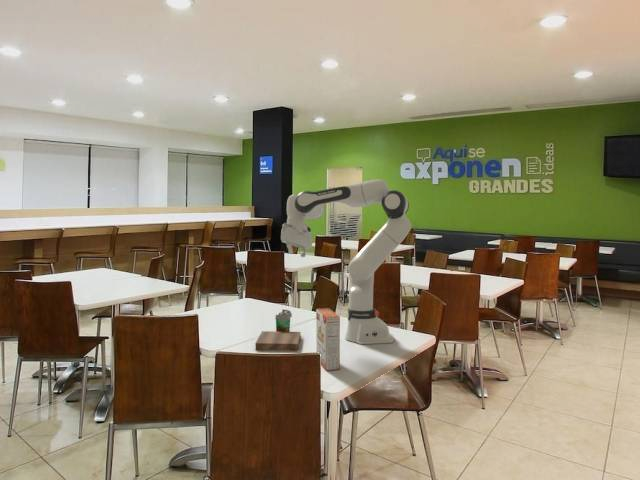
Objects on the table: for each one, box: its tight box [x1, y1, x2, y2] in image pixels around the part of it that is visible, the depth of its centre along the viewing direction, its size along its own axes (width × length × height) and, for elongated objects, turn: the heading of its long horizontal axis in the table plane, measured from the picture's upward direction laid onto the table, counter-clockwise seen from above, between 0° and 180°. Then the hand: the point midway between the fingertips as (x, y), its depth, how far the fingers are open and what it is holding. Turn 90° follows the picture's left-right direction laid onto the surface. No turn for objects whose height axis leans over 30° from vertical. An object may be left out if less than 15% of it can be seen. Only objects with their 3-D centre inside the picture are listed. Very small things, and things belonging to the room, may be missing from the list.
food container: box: [275, 308, 293, 332], centre depth 225 cm, size 12×6×10 cm, turn 168°
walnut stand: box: [254, 330, 301, 352], centre depth 207 cm, size 18×18×3 cm
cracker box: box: [315, 307, 341, 372], centre depth 181 cm, size 14×6×21 cm, turn 15°
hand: (297, 255), depth 218 cm, fingers open, 8 cm apart
